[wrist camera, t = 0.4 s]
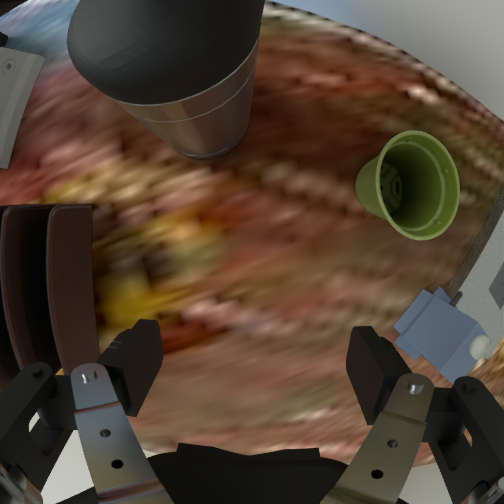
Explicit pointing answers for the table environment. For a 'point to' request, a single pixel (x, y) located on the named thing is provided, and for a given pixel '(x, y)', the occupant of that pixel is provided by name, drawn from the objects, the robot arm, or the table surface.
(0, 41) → the headset box
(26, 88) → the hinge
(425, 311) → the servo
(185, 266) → the table surface
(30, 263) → the letter holder
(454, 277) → the plate
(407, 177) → the plant pot
